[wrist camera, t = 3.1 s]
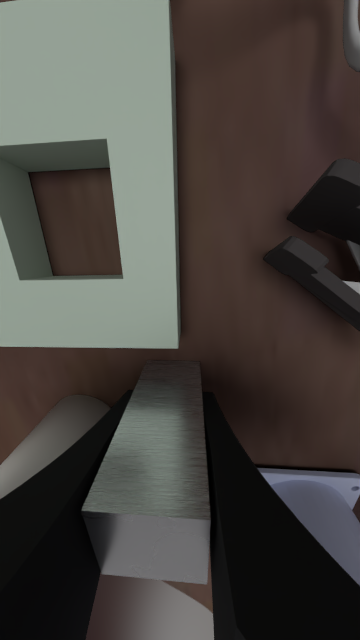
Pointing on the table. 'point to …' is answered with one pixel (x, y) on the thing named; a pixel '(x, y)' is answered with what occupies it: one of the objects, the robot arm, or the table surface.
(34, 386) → the table surface
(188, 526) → the steel square peg
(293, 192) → the table surface
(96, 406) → the cream round peg
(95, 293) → the socket board
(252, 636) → the robot arm
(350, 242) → the clip-on lamp
